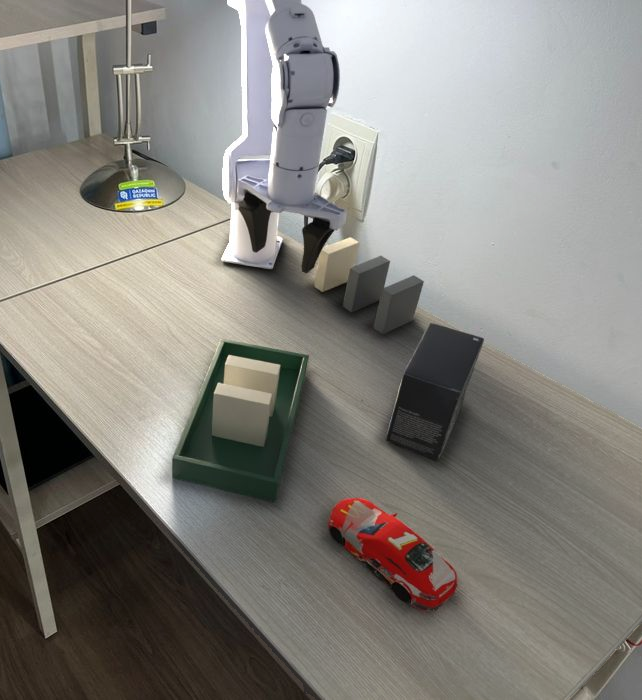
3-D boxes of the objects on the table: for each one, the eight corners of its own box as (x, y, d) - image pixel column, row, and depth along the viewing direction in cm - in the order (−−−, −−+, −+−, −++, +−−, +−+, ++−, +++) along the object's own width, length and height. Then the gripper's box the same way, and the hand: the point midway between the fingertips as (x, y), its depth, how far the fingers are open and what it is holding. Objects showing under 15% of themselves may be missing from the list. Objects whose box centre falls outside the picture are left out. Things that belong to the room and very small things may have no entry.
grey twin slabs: (342, 306, 99) (349, 267, 95) (372, 293, 101) (381, 255, 97) (382, 334, 94) (392, 294, 90) (413, 320, 96) (424, 281, 92)
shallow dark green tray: (219, 357, 90) (221, 338, 88) (306, 373, 87) (309, 354, 85) (171, 478, 74) (172, 458, 72) (275, 502, 72) (278, 483, 70)
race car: (315, 526, 69) (320, 500, 67) (352, 500, 72) (359, 474, 69) (423, 625, 61) (433, 600, 59) (460, 592, 64) (472, 567, 61)
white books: (225, 396, 83) (228, 354, 79) (275, 406, 82) (280, 364, 78) (211, 435, 78) (213, 393, 74) (263, 447, 77) (269, 404, 73)
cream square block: (314, 286, 103) (320, 248, 99) (343, 274, 105) (350, 237, 101) (322, 292, 101) (328, 254, 97) (352, 280, 104) (359, 242, 100)
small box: (408, 386, 86) (428, 318, 79) (462, 405, 83) (487, 337, 76) (381, 440, 78) (401, 370, 72) (439, 462, 76) (465, 392, 69)
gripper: (225, 154, 83) (219, 252, 91) (331, 190, 76) (315, 293, 84) (258, 136, 87) (250, 231, 96) (362, 169, 80) (343, 269, 88)
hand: (282, 259), depth 90 cm, fingers open, 7 cm apart
